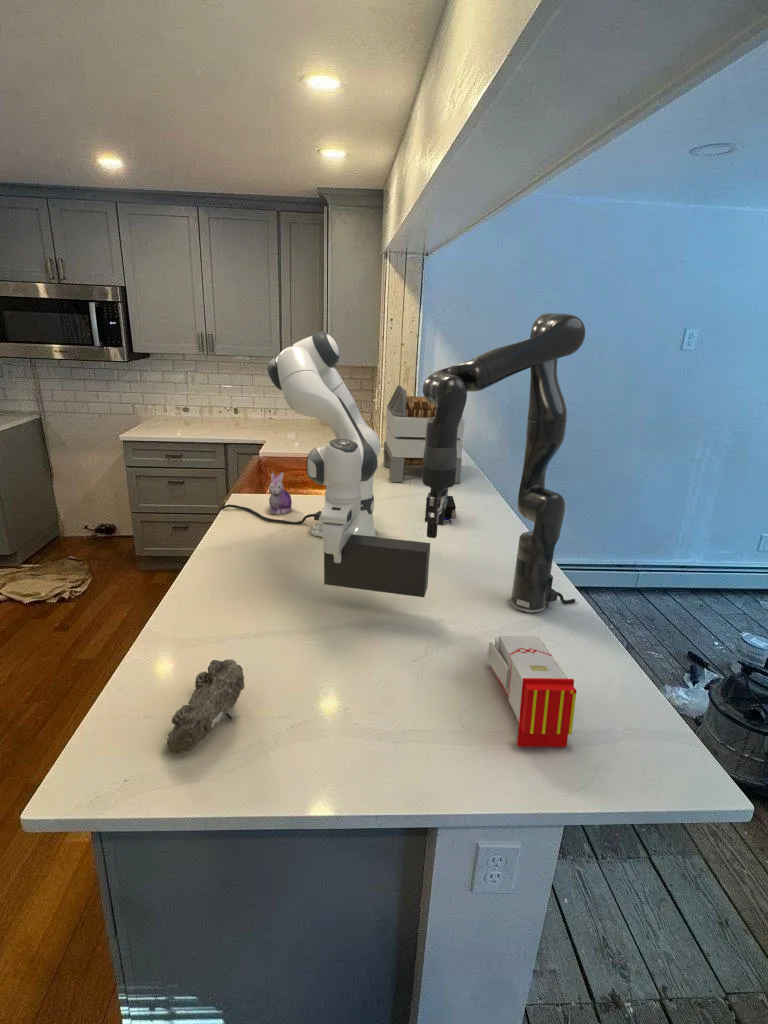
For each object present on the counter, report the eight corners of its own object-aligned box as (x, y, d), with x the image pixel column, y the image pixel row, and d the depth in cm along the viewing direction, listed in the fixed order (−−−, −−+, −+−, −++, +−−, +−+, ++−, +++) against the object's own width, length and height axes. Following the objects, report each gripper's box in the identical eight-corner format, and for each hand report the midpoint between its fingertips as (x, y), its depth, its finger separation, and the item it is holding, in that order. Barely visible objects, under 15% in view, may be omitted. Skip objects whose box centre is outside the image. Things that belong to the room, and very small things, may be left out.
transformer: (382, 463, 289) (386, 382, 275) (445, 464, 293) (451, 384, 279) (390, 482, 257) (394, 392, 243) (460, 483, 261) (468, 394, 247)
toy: (536, 619, 129) (586, 686, 99) (531, 673, 131) (578, 754, 102) (483, 618, 128) (517, 685, 99) (479, 672, 131) (511, 753, 102)
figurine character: (456, 529, 210) (451, 511, 223) (458, 510, 207) (453, 493, 220) (438, 528, 210) (434, 510, 223) (440, 510, 206) (436, 493, 220)
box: (324, 584, 146) (323, 540, 142) (330, 574, 151) (330, 531, 147) (424, 597, 141) (427, 552, 137) (427, 587, 146) (430, 542, 142)
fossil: (192, 660, 117) (244, 628, 112) (224, 691, 120) (276, 661, 115) (142, 746, 98) (202, 712, 93) (182, 779, 101) (242, 748, 96)
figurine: (272, 516, 210) (271, 477, 205) (264, 508, 219) (263, 470, 213) (296, 513, 214) (296, 475, 209) (287, 505, 223) (287, 468, 218)
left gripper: (342, 491, 151) (341, 539, 155) (317, 517, 132) (317, 571, 137) (365, 494, 150) (363, 542, 154) (344, 520, 131) (343, 574, 135)
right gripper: (450, 474, 120) (445, 544, 126) (461, 458, 133) (456, 522, 139) (416, 470, 122) (412, 539, 128) (429, 455, 135) (426, 518, 141)
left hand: (342, 556), depth 145 cm, fingers closed on box, 6 cm apart
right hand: (435, 530), depth 133 cm, fingers open, 8 cm apart
